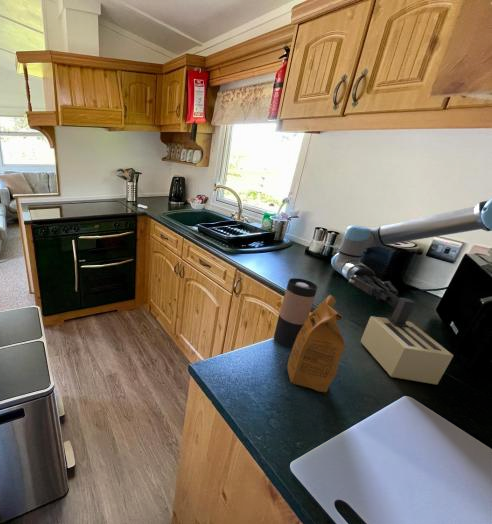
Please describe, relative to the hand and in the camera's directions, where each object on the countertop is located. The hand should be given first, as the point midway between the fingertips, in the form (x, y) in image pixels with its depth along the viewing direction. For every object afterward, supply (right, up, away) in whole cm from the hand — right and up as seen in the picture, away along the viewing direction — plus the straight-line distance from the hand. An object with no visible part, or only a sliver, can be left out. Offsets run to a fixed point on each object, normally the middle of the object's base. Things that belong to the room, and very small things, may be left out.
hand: (399, 304), depth 85 cm
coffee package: (-32, -18, -9) cm, 38 cm away
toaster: (-2, -17, -1) cm, 17 cm away
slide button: (-1, -5, 0) cm, 6 cm away
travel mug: (-31, -12, +5) cm, 34 cm away
